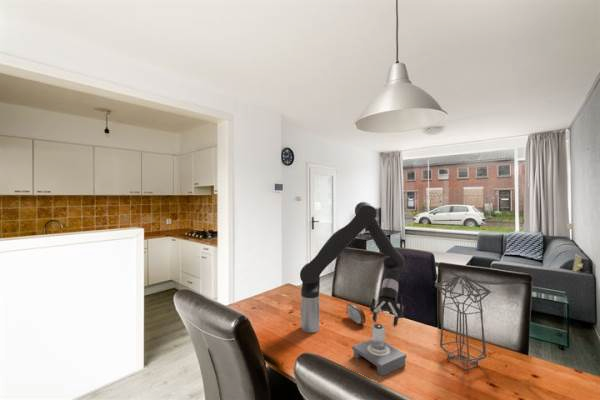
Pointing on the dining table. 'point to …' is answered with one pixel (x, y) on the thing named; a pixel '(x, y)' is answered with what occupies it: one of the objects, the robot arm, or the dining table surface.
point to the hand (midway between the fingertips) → (384, 323)
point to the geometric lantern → (466, 280)
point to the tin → (356, 313)
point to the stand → (381, 357)
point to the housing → (378, 339)
